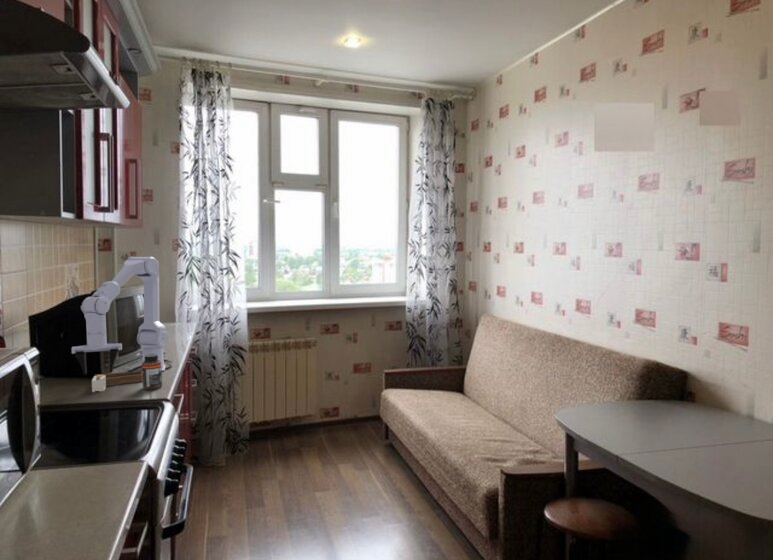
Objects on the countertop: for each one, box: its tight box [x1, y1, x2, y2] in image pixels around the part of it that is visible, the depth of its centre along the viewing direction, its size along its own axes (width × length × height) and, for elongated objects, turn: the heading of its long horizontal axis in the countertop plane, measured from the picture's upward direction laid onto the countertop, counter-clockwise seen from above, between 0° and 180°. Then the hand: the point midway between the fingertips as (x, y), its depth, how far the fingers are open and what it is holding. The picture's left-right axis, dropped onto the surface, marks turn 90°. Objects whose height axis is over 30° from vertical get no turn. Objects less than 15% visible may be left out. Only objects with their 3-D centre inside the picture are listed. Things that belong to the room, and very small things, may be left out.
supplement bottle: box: [141, 354, 163, 391], centre depth 172 cm, size 6×6×11 cm
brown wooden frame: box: [94, 370, 143, 387], centre depth 180 cm, size 7×16×2 cm, turn 113°
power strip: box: [91, 374, 107, 393], centre depth 171 cm, size 3×6×4 cm, turn 23°
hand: (98, 372), depth 170 cm, fingers open, 7 cm apart
